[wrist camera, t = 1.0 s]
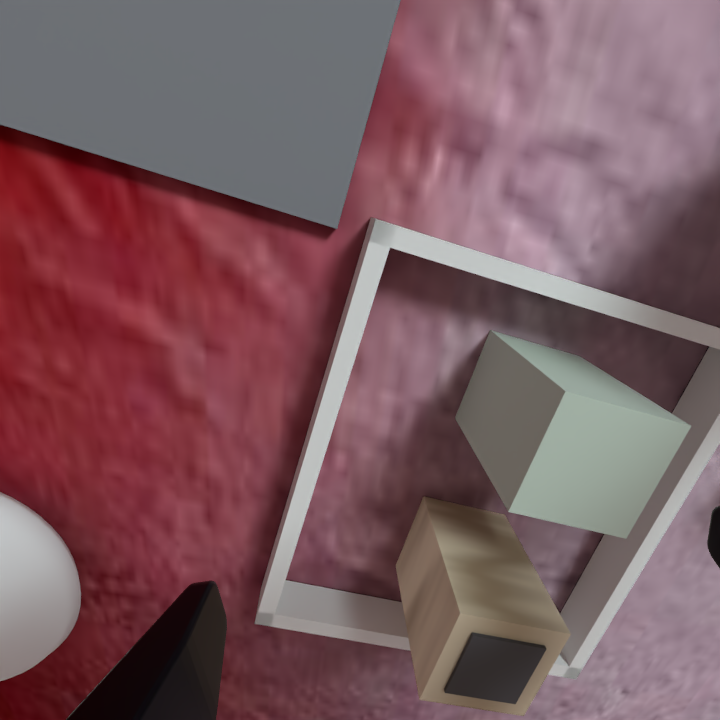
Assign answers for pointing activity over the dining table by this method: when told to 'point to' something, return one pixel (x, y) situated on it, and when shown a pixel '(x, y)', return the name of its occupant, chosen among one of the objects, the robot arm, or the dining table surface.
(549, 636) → the labelled block
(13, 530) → the flower in vase
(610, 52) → the dining table surface
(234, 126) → the mat
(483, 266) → the white square frame
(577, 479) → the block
